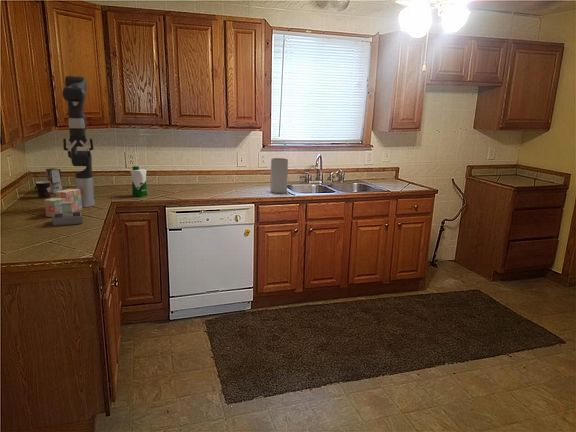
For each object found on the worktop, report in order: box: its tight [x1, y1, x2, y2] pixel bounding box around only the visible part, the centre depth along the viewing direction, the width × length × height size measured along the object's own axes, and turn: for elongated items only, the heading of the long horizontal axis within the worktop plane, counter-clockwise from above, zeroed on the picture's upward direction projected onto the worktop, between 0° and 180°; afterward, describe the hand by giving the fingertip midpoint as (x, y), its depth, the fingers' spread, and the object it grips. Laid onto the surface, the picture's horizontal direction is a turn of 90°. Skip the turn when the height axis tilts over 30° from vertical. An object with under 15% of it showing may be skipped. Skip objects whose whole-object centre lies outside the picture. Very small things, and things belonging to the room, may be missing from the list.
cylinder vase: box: [270, 157, 289, 194], centre depth 321 cm, size 12×12×25 cm
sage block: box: [62, 202, 73, 217], centre depth 221 cm, size 5×4×10 cm
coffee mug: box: [34, 180, 51, 199], centre depth 275 cm, size 12×9×10 cm
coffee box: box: [45, 167, 63, 194], centre depth 293 cm, size 9×6×16 cm
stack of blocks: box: [44, 188, 83, 218], centre depth 240 cm, size 21×6×12 cm, turn 167°
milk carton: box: [129, 165, 148, 198], centre depth 290 cm, size 9×9×20 cm
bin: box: [51, 211, 83, 227], centre depth 221 cm, size 10×13×4 cm
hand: (79, 158), depth 227 cm, fingers open, 8 cm apart
